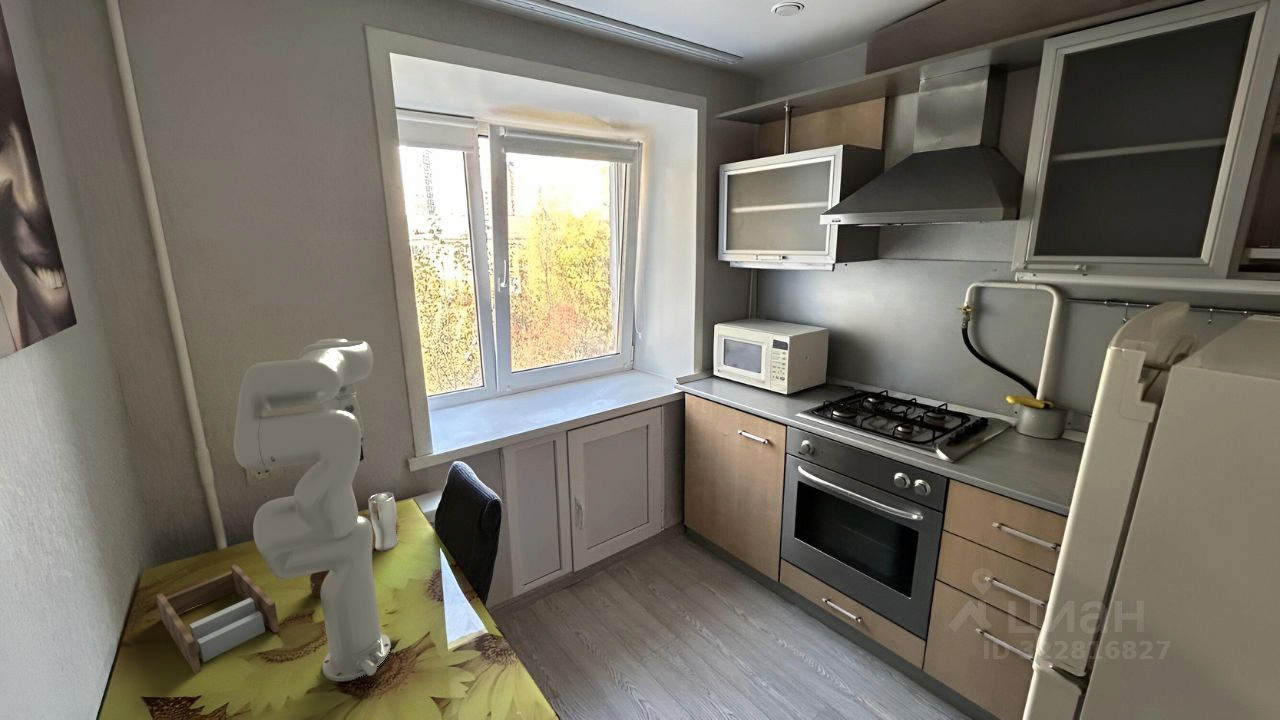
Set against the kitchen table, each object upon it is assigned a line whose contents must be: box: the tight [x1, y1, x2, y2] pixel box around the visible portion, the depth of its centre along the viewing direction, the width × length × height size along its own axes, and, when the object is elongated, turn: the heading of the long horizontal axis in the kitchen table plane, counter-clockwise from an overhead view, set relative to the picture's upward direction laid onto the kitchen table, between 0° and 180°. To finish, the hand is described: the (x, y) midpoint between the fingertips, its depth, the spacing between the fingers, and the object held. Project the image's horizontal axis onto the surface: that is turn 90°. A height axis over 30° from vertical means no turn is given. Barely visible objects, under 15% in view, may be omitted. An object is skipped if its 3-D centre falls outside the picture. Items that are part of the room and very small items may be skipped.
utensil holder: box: [309, 570, 330, 598], centre depth 129 cm, size 6×6×12 cm
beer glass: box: [367, 491, 399, 552], centre depth 149 cm, size 7×7×15 cm
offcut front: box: [197, 611, 266, 662], centre depth 112 cm, size 2×11×4 cm, turn 143°
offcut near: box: [189, 597, 256, 653], centre depth 115 cm, size 2×11×6 cm, turn 143°
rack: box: [155, 563, 280, 674], centre depth 118 cm, size 27×15×7 cm, turn 53°
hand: (347, 457), depth 127 cm, fingers open, 9 cm apart
